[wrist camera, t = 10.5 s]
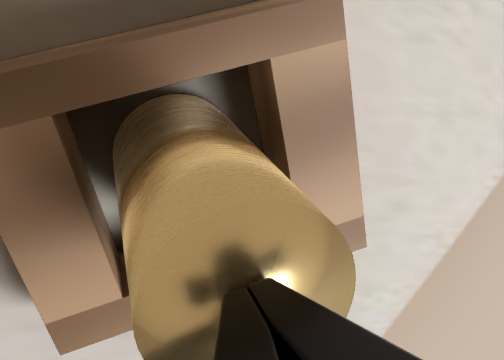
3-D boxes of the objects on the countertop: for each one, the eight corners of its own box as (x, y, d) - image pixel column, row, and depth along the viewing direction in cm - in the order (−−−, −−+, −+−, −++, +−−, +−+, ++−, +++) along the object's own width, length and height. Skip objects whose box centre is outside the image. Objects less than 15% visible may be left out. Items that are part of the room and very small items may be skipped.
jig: (333, 213, 18) (366, 246, 16) (65, 303, 16) (59, 355, 14) (304, -10, 14) (341, -8, 12) (-43, 71, 13) (-72, 90, 10)
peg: (247, 190, 16) (364, 347, 9) (134, 227, 16) (170, 428, 9) (222, 78, 15) (343, 168, 8) (94, 114, 14) (97, 249, 7)
